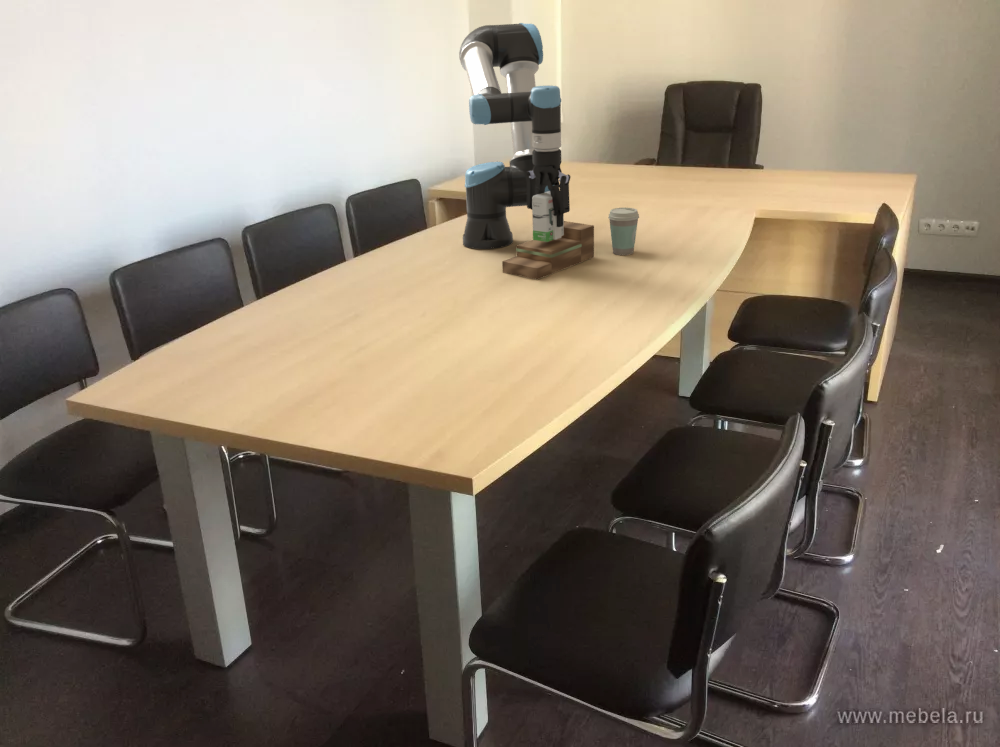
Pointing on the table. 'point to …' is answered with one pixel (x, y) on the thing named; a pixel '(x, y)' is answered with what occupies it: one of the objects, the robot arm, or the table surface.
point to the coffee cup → (623, 230)
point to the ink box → (543, 217)
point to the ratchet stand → (552, 252)
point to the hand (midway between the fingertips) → (548, 236)
